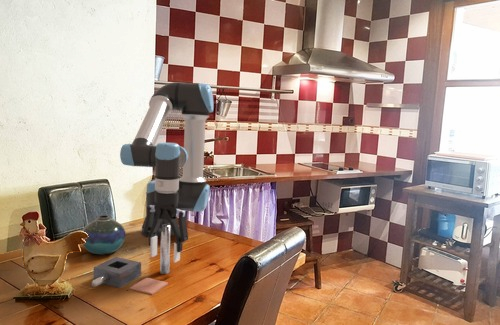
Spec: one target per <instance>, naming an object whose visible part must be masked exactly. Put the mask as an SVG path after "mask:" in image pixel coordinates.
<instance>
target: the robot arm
mask: <svg viewBox="0 0 500 325" xmlns="http://www.w3.org/2000/svg"><path fill="white" fill-rule="evenodd" d="M212 90H213V89H212V88H211V86H210V85H209V84H208V83H207V84H206V83H202V82H201V83H200V82H179V81H175V82H174V81H173V82H169V83H166V84H165V85H163V86H161V87H159V88H158V89H157V90H156V91H155V92H154V93H153V94H152V95H151V96H150V99H149V102H148V106H149V108H148V110H147V112H146V114H145V116H144V118H143V120H142V122H141V124H140V127H139V128H138V130H137V133H136V134H135V136H134V137H135V138H134V139H133V141H132V143H125V144H122V146H121V148H120V151H119V158H120V162H121V164H122V165H124V166H128V167H129V166H130V167H139V168H140V167H145V168H154V170H155V172H154V173H155V174H154V180H150V181H149V182H148V183H147V184H146V192H145V195H146V197H145V201H146V203H145V217H144V220H143V223H142V225H141V234H142V235H143V236H145V237H148V246H149V247H150V252H149V254H150V255H149V256H150V258H154V257H156V256H158V238H160V239H161V232H159V231H158V229H159V227H161V225H163V224H168V223H170V225H171V228H170V237H172V236H174V239H175V242H173V263H177V262H179V261H180V260H181V252H182V251H183V244H184V242H186V241H189V233H188V227H187V219H186V216H187V212H193V213H194V212H204V211H205V210H206V208H207V205H208V201H209V197H210V192H211V191H210V188H211V186H210V185H209V184H207V179H206V178H205V177H204V166H205V165H204V163H205V161H204V160H205V138H206V137H205V136H206V135H205V134H206V121H207V119H209V118H210V113H213V112H214V106H215V105H214V104H215V102H214V95H213V91H212ZM172 111H181V116H182V117H183V119H184V133H183V138H184V139H183V140H184V141H183V146H180V145H179V144H178V143H177V142H159V143H157V141H158V139H159V136H160V134H161V131H162V129H163V127H164V124H165V122H166V120H167V117H168V116H169V115H170V114H172ZM180 168H182V176H181V177H180Z"/></svg>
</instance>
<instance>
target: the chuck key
mask: <svg viewBox="0 0 500 325" xmlns="http://www.w3.org/2000/svg"><path fill="white" fill-rule="evenodd" d="M170 228H171V225H170V223H168V224H163V225H161V227H159V229H158V231H159V232H161V238H160V255H159V256H160V259H159V260H160V261H159V263H160V264H159V266H160V268H159V272H160V274H161V275H167V274H168V275H169V274H170V267H171V266H170V264H171V258H170V257H171V256H170V255H171V236H170Z"/></svg>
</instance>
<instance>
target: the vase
mask: <svg viewBox="0 0 500 325" xmlns="http://www.w3.org/2000/svg"><path fill="white" fill-rule="evenodd" d="M82 231H84V232H86V233H87V234H88V236H89V237H88V238H87V239H85V241H86V243H85V244H82V246H83V247H84V249H85V250H86V251H87V252H89V253H91V254H94V255H102V256H103V255H108V254H112V253H114V252H116V251H118V250H119V249H120V248H121V247H122V245H123V244H124V242H125V239H126V231H125V228H124V226H123V225H122V224H121V223H119V222H118V221H116V220H114V219H112V218H110V216H109V215H107V214H103V215H102V214H101V215H98V216H97V219H94V220H93V221H90V222H89V223H87V225H85V226H84V228H83V229H82Z"/></svg>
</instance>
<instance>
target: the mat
mask: <svg viewBox="0 0 500 325" xmlns="http://www.w3.org/2000/svg"><path fill="white" fill-rule="evenodd" d="M168 284H169V283H168V281H163V280H159V279H154V278H150V277H144V278H143V279H142V280H140V281H137V283H135V284H133V285H132V286H130V287H129V289H130V290H131V291H132V290H133V291H136V292H140V293H143V294H147V295H151V296H152V295H155V294H156V293H158V291H161V290H162V289H163V288H165V287H166V286H168Z"/></svg>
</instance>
